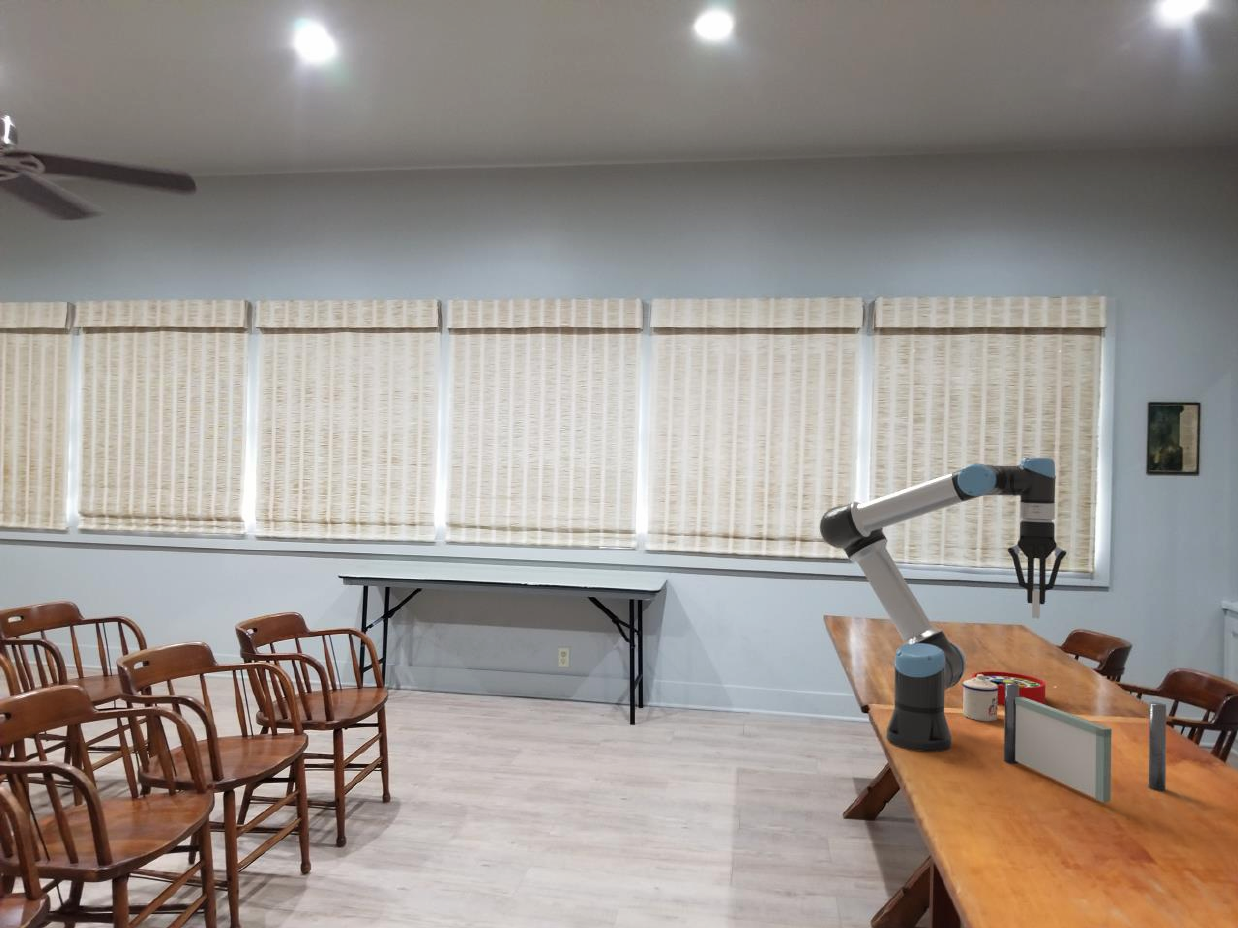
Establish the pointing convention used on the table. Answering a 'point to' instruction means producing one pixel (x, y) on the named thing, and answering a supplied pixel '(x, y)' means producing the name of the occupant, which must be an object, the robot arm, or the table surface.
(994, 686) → the teacup with lid
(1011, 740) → the posts
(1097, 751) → the grey rectangular panel
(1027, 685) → the toy clock
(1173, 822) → the table surface
